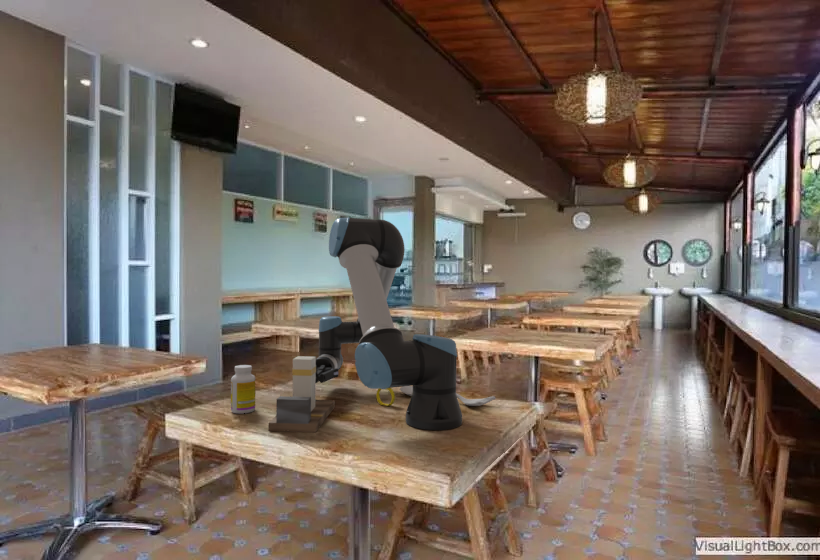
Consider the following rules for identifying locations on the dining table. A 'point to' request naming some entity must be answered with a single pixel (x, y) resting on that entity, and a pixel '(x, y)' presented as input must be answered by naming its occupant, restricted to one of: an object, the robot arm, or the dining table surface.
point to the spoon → (470, 402)
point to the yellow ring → (380, 399)
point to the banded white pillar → (304, 377)
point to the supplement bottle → (243, 390)
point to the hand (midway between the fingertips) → (304, 383)
